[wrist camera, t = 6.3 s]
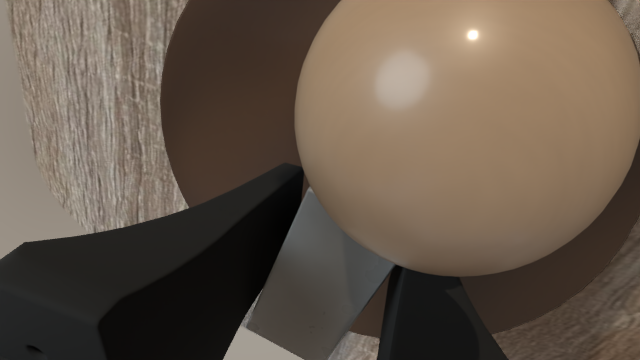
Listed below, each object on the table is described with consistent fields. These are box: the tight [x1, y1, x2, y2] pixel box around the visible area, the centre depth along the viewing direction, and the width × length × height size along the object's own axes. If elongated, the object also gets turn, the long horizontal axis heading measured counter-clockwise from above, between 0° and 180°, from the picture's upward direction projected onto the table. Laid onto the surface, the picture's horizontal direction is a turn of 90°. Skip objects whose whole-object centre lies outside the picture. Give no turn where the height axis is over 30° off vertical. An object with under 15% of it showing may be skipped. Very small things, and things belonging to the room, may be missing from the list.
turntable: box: [160, 0, 640, 360], centre depth 10 cm, size 15×15×10 cm
